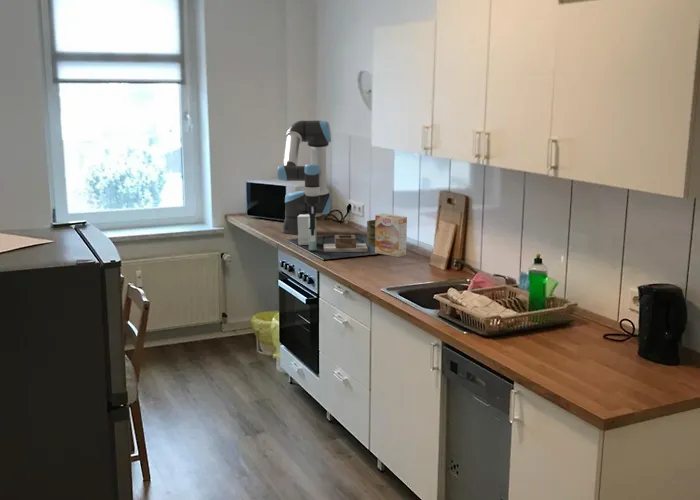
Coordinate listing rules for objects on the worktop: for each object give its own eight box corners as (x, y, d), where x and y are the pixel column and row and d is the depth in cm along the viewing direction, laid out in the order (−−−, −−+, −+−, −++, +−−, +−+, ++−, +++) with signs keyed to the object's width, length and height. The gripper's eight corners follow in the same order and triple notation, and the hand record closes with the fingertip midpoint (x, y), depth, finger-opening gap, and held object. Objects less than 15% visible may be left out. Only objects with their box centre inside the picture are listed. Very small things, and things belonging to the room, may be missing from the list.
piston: (382, 224, 397) (363, 222, 402) (382, 246, 399) (363, 244, 404) (391, 221, 406) (372, 219, 412) (391, 243, 409) (372, 241, 414)
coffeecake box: (374, 253, 384) (374, 214, 380) (382, 250, 389) (383, 213, 385) (398, 257, 374) (398, 218, 370) (406, 254, 380) (407, 216, 376)
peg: (308, 248, 390) (308, 217, 386) (316, 248, 390) (316, 217, 387) (308, 250, 386) (308, 219, 382) (316, 250, 386) (316, 219, 383)
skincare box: (315, 242, 408) (314, 214, 405) (313, 245, 402) (313, 216, 398) (299, 242, 409) (299, 214, 406) (297, 245, 402) (297, 216, 399)
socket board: (323, 246, 399) (323, 234, 398) (365, 246, 400) (365, 233, 399) (324, 252, 385) (324, 239, 384) (367, 251, 387) (367, 239, 385)
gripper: (304, 192, 390) (305, 237, 395) (304, 197, 373) (305, 244, 378) (319, 192, 390) (319, 237, 395) (320, 197, 374) (320, 243, 379)
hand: (312, 240), depth 387 cm, fingers closed on peg, 4 cm apart
